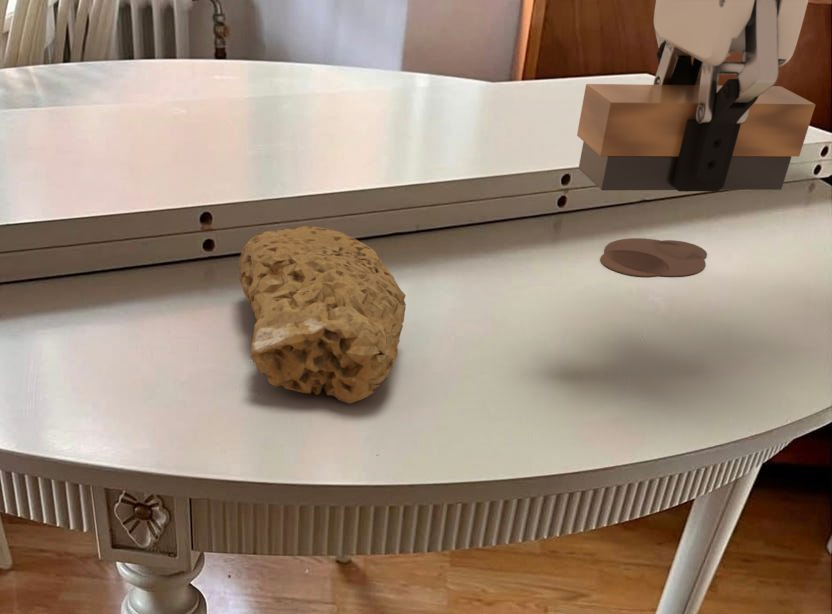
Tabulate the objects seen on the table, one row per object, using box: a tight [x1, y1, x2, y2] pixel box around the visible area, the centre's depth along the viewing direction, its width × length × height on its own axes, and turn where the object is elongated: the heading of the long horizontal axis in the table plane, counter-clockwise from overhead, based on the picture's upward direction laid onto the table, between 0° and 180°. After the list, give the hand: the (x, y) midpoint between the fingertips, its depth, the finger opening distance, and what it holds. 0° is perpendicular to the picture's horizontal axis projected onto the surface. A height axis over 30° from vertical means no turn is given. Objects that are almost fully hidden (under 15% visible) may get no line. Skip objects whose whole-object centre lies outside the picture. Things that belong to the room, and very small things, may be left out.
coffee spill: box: [599, 237, 708, 278], centre depth 90 cm, size 11×9×1 cm
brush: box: [576, 83, 816, 191], centre depth 62 cm, size 13×4×5 cm, turn 99°
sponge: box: [238, 225, 407, 404], centre depth 71 cm, size 13×8×20 cm
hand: (680, 173), depth 64 cm, fingers closed on brush, 4 cm apart
